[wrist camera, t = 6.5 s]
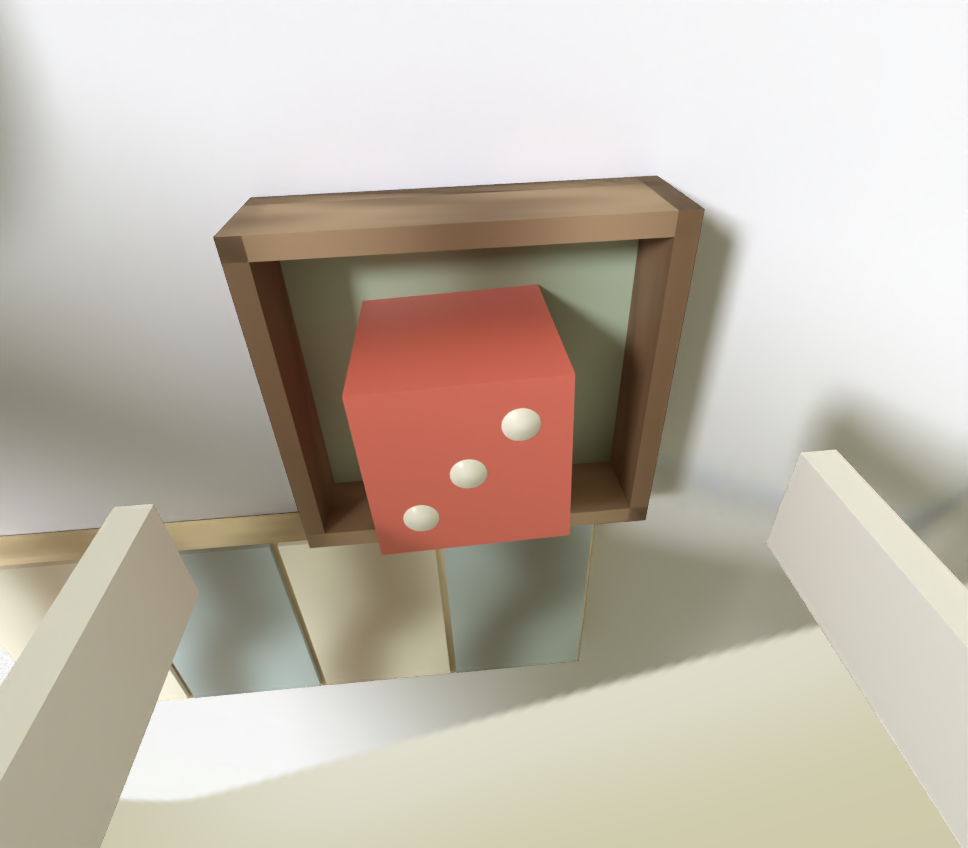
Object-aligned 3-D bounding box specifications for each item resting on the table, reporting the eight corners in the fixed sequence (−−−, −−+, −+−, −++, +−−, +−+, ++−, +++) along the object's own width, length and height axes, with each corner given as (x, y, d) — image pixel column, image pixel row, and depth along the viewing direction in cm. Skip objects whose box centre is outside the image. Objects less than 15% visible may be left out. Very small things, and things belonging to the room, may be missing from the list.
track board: (74, 685, 27) (59, 714, 26) (-48, 540, 21) (-75, 570, 20) (573, 638, 28) (579, 664, 27) (589, 488, 22) (597, 514, 21)
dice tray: (324, 480, 21) (309, 548, 18) (250, 197, 15) (213, 237, 12) (618, 457, 22) (645, 519, 19) (657, 175, 16) (704, 209, 13)
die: (391, 440, 19) (381, 555, 15) (362, 300, 16) (341, 397, 12) (539, 425, 19) (569, 535, 15) (537, 284, 16) (575, 374, 12)
